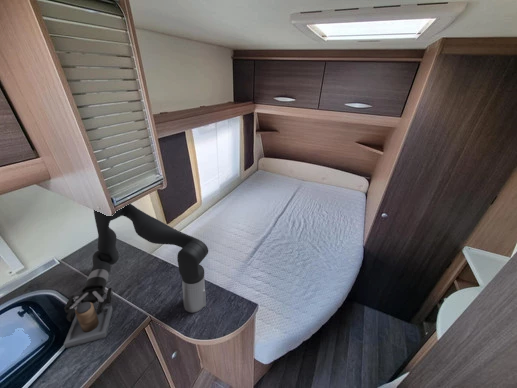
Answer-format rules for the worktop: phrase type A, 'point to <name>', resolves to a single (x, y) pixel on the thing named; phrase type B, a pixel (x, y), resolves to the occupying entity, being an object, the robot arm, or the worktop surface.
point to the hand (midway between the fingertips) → (84, 316)
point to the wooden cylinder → (87, 316)
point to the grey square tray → (100, 331)
